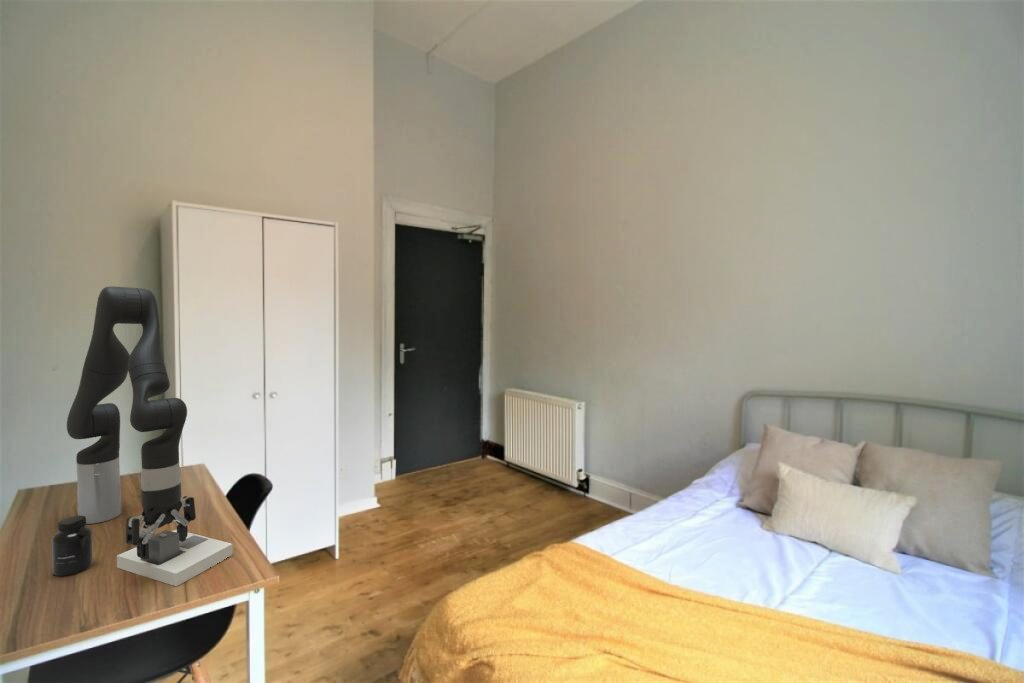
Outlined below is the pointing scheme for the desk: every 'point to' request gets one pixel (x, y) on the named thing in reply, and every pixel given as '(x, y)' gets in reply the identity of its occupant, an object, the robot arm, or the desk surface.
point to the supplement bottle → (72, 546)
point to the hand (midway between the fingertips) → (163, 549)
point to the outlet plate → (179, 560)
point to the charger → (163, 547)
